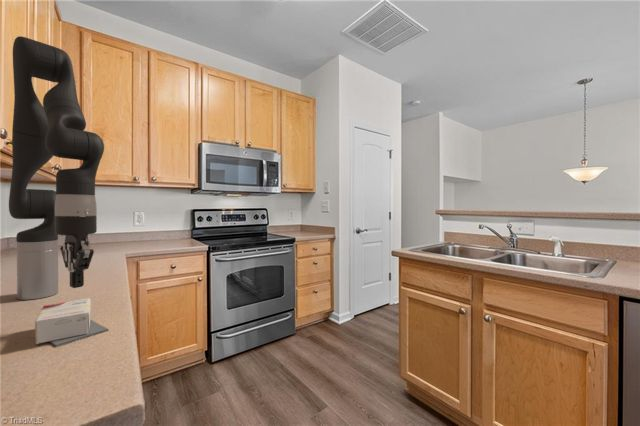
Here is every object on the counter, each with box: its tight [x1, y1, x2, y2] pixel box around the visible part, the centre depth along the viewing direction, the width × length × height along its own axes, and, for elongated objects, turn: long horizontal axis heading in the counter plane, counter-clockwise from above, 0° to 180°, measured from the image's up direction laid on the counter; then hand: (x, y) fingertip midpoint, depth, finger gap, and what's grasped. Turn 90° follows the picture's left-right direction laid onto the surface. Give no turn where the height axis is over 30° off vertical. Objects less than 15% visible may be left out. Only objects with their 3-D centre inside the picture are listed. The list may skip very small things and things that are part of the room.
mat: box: [48, 319, 109, 348], centre depth 64 cm, size 12×9×1 cm
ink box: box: [34, 297, 92, 345], centre depth 64 cm, size 9×5×12 cm
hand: (76, 286), depth 68 cm, fingers closed
